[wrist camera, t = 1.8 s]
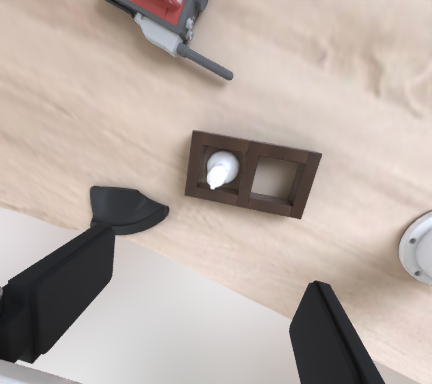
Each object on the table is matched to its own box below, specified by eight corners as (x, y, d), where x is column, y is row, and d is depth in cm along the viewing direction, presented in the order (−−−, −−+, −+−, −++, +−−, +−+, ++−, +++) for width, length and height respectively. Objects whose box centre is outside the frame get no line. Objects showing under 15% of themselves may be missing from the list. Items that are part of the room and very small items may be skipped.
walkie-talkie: (98, 16, 27) (229, 88, 28) (72, -5, 23) (226, 80, 23) (119, -65, 25) (264, 16, 25) (92, -105, 20) (267, -7, 21)
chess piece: (242, 153, 30) (240, 164, 20) (235, 185, 31) (231, 209, 22) (209, 147, 30) (193, 155, 21) (204, 179, 32) (186, 199, 22)
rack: (314, 151, 28) (322, 153, 26) (296, 211, 31) (301, 219, 28) (197, 130, 30) (192, 130, 27) (189, 189, 33) (184, 195, 30)
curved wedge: (168, 238, 36) (165, 243, 34) (97, 227, 37) (91, 231, 36) (169, 193, 33) (165, 196, 32) (93, 183, 35) (85, 186, 33)
